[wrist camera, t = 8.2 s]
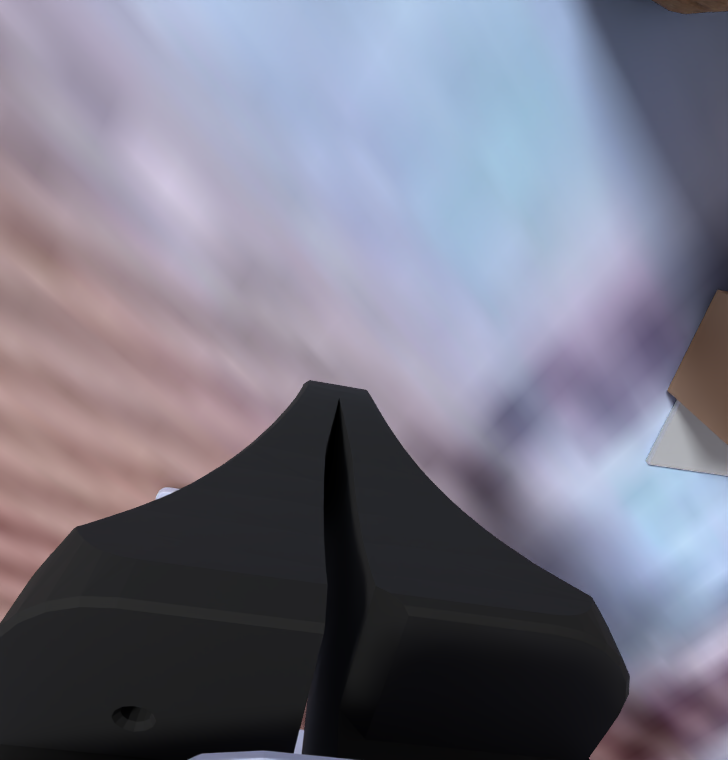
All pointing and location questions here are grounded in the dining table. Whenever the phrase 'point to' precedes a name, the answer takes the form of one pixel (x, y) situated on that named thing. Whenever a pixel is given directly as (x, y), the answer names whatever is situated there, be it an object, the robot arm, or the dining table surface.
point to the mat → (688, 445)
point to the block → (694, 5)
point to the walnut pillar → (707, 370)
